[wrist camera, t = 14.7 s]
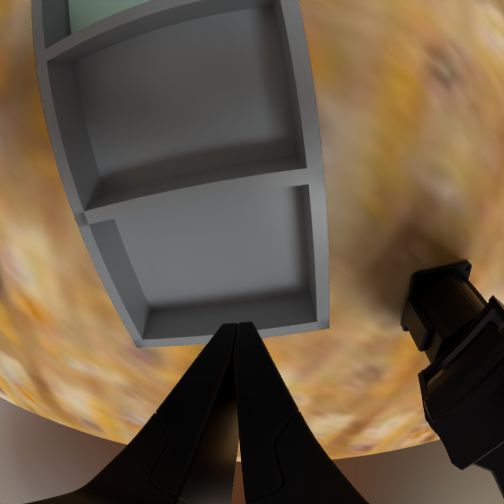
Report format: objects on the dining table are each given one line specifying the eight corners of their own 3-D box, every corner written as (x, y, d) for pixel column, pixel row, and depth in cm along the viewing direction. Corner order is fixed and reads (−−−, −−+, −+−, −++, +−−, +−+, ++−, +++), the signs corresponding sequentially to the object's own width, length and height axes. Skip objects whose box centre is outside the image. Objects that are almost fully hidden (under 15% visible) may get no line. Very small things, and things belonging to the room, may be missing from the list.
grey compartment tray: (255, -102, 7) (256, -135, 3) (318, 291, 22) (330, 331, 18) (64, -45, 8) (32, -60, 4) (150, 312, 23) (136, 350, 19)
